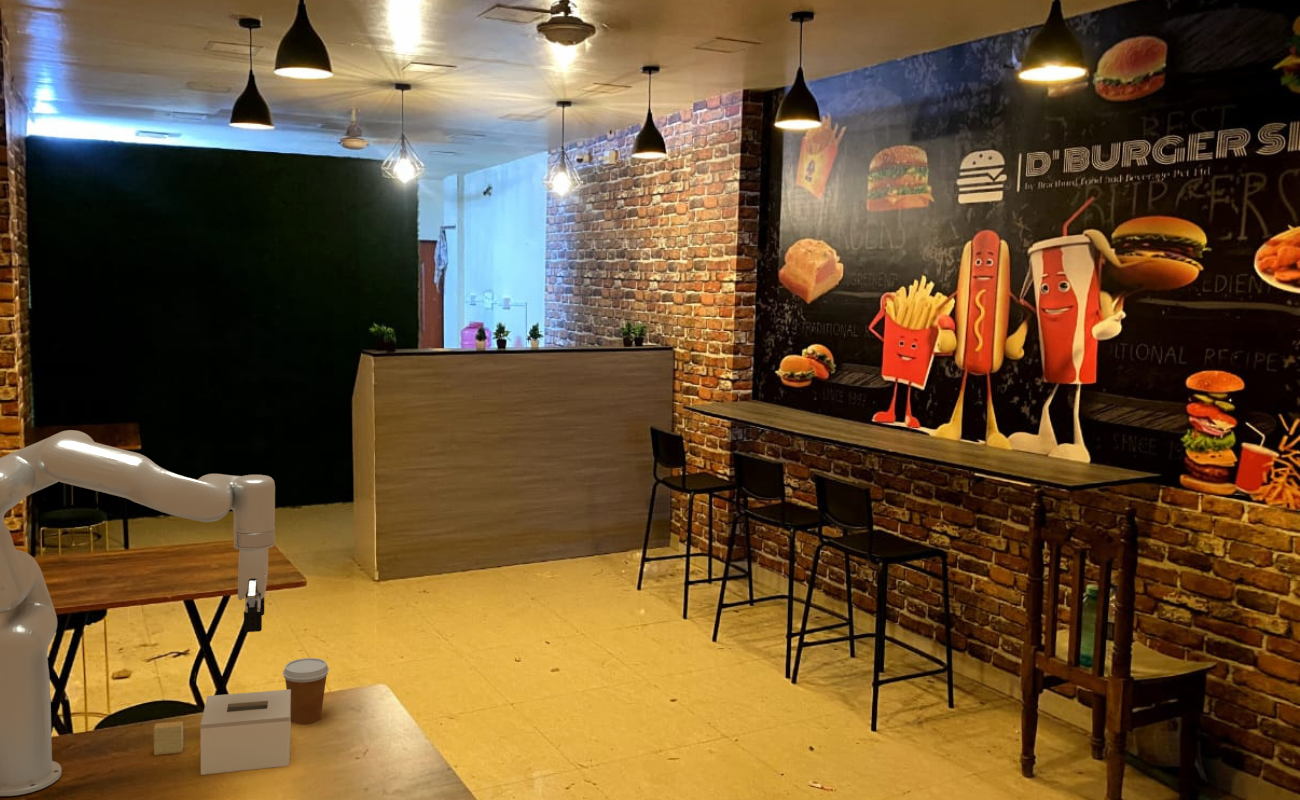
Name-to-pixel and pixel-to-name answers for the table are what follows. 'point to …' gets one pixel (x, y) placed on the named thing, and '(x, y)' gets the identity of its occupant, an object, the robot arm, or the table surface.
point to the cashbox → (246, 731)
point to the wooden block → (168, 738)
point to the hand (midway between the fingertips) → (254, 623)
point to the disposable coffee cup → (306, 688)
